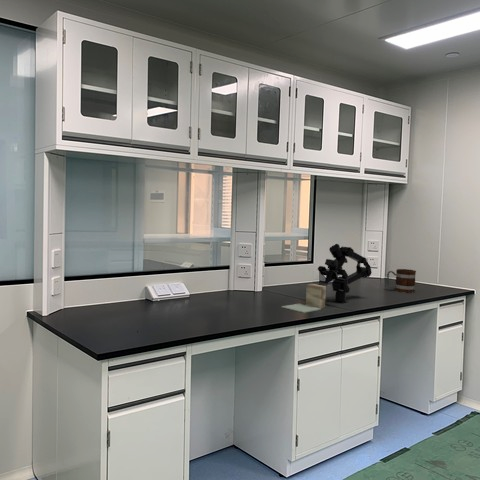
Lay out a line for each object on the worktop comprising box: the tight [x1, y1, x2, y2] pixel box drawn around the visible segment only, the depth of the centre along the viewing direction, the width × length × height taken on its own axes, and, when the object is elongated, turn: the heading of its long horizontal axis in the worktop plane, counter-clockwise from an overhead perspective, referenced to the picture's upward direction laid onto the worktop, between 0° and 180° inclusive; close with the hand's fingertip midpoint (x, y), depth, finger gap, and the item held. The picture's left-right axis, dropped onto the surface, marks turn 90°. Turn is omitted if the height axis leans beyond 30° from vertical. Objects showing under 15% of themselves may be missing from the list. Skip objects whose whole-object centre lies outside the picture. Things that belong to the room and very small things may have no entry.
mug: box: [386, 268, 417, 294], centre depth 333 cm, size 20×14×15 cm
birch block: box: [305, 283, 327, 309], centre depth 270 cm, size 5×10×12 cm, turn 42°
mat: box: [281, 303, 322, 314], centre depth 263 cm, size 15×16×1 cm
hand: (325, 283), depth 276 cm, fingers closed
